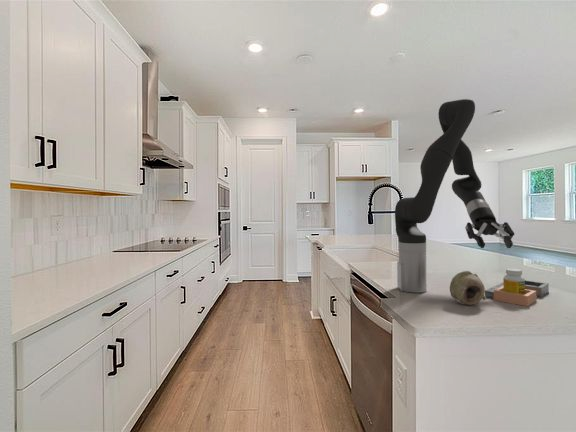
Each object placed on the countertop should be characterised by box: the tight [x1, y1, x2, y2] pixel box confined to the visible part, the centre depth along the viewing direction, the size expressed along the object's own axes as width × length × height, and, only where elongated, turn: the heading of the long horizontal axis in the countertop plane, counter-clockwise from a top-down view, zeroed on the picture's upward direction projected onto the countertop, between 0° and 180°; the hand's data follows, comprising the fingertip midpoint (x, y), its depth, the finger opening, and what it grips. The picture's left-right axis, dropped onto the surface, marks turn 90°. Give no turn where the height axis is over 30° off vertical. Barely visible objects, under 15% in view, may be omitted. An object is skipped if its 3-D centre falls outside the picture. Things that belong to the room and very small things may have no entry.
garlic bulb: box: [449, 270, 487, 307], centre depth 90 cm, size 9×8×10 cm
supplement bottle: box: [502, 268, 526, 295], centre depth 92 cm, size 5×5×10 cm
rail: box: [484, 279, 550, 299], centre depth 98 cm, size 21×12×3 cm, turn 127°
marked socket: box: [493, 286, 537, 307], centre depth 92 cm, size 9×9×3 cm
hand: (496, 246), depth 102 cm, fingers open, 8 cm apart
